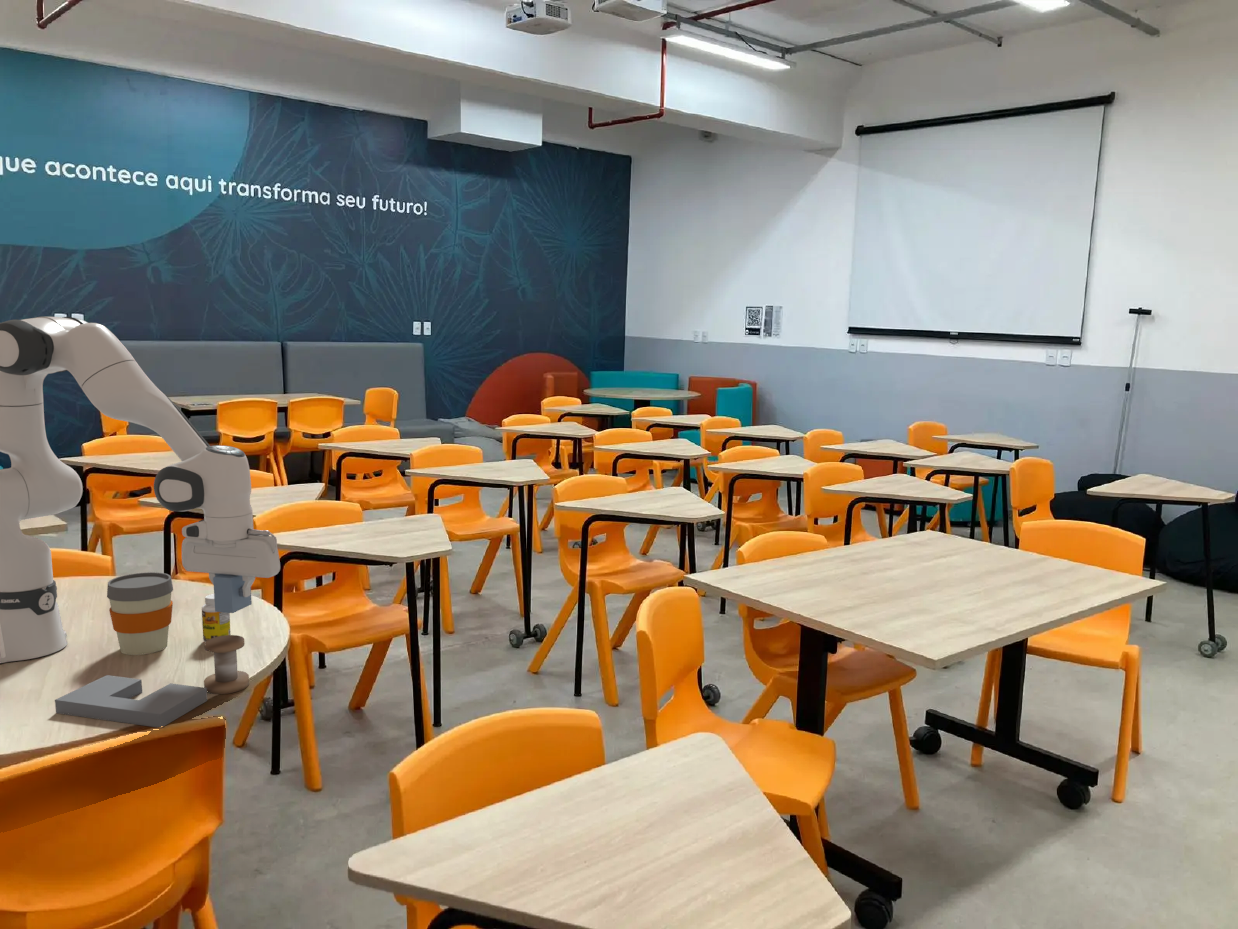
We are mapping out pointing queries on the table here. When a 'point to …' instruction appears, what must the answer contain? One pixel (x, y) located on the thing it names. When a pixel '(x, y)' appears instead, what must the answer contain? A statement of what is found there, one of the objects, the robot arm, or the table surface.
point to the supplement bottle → (214, 620)
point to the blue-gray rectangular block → (229, 593)
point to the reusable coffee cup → (141, 611)
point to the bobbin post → (225, 665)
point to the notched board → (130, 701)
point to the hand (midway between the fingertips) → (233, 595)
